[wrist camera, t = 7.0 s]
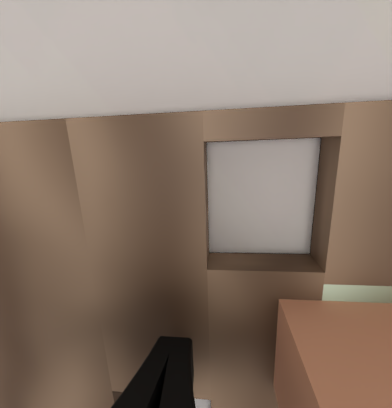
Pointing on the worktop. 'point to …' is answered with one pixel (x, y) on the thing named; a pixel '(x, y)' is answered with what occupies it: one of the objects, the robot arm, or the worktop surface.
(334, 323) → the block
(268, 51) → the worktop surface
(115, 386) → the trap deck
